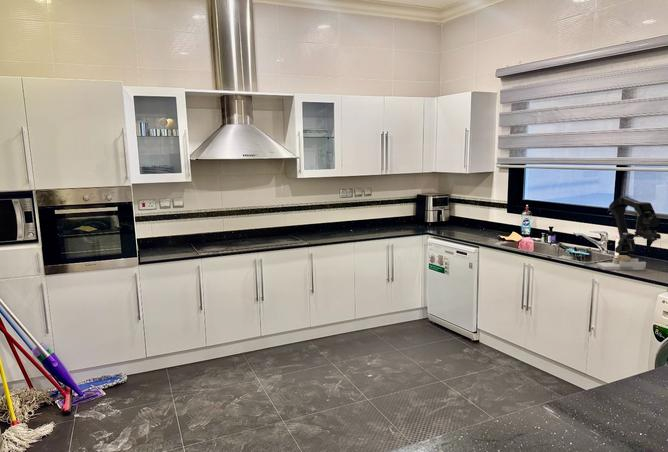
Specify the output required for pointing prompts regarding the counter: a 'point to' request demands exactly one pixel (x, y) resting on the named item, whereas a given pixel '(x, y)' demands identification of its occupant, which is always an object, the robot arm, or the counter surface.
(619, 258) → the wooden block
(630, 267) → the trap channel
